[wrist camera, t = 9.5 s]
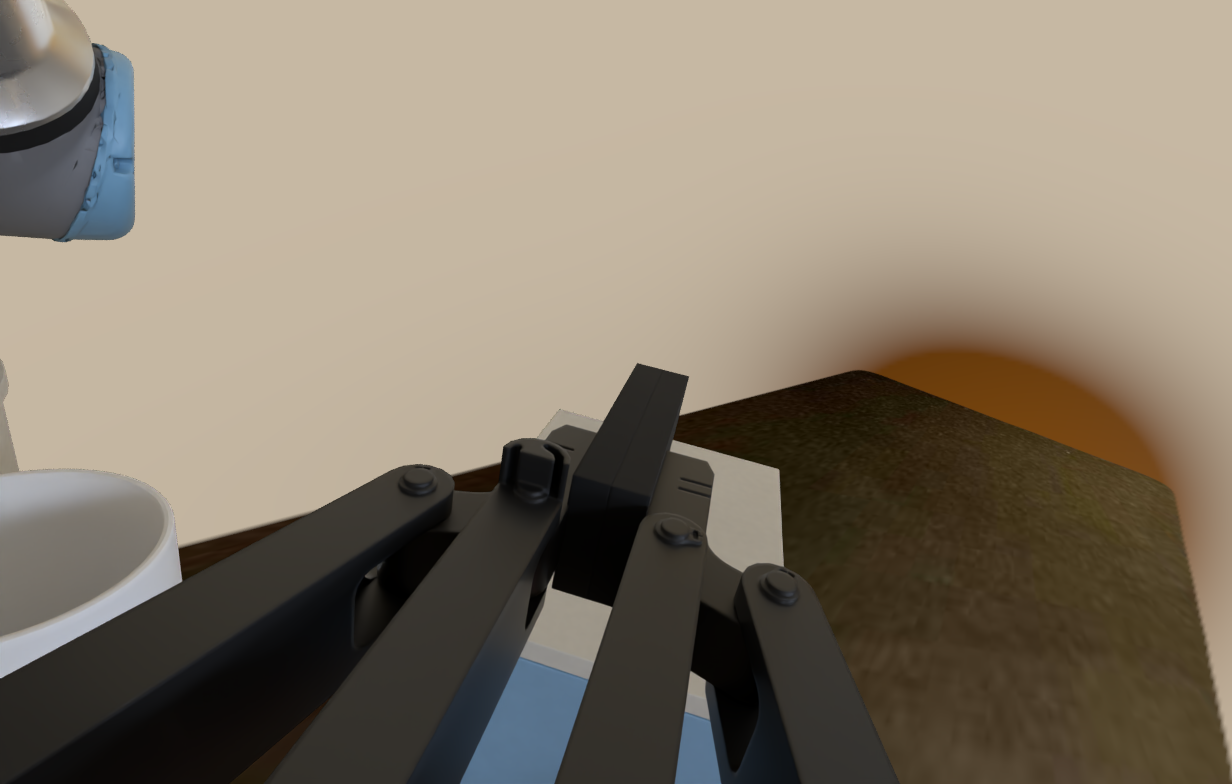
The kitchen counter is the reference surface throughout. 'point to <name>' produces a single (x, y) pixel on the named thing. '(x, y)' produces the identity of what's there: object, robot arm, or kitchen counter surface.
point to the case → (561, 732)
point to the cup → (77, 556)
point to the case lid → (735, 534)
